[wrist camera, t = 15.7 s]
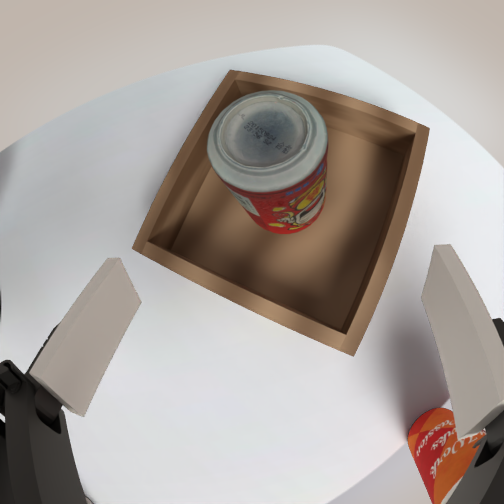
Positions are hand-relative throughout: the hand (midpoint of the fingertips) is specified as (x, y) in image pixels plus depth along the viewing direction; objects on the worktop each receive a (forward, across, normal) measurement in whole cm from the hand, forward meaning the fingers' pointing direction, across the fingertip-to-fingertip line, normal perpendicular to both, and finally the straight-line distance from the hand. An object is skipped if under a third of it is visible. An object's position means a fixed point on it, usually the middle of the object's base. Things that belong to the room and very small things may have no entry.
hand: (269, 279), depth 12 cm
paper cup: (0, +14, -22) cm, 26 cm away
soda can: (+16, 0, -4) cm, 17 cm away
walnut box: (+17, 0, -5) cm, 17 cm away
